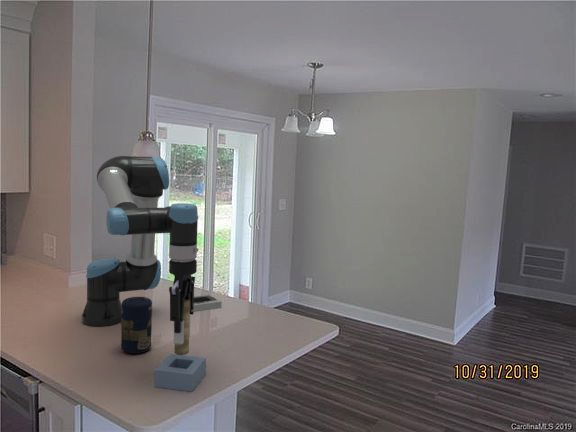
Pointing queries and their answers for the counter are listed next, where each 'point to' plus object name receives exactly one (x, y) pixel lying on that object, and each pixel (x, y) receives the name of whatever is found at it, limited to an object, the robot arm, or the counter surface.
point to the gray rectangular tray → (205, 303)
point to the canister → (136, 324)
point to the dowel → (184, 348)
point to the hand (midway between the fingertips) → (181, 339)
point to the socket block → (180, 372)
